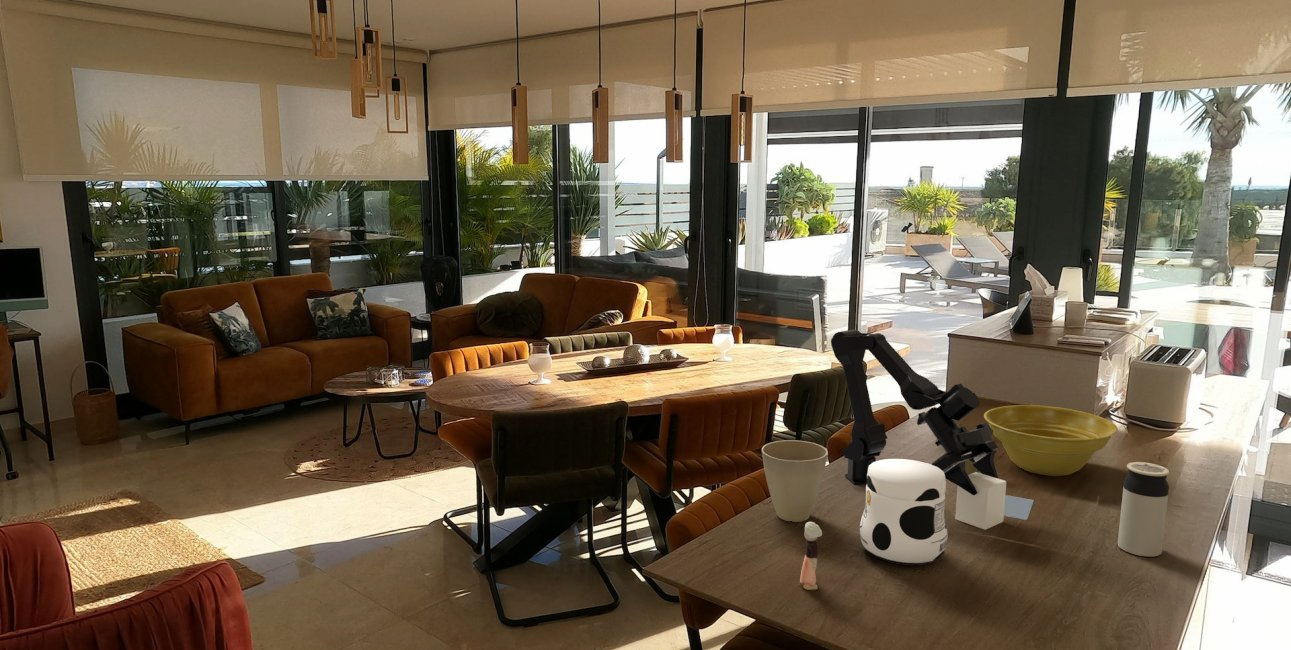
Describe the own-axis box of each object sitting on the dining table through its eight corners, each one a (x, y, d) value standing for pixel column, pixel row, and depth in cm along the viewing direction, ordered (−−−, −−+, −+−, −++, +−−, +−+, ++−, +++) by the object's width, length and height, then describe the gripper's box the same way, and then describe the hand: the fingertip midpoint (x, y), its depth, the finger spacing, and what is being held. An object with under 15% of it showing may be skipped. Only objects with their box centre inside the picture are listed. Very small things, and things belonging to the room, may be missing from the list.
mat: (962, 509, 193) (962, 507, 193) (972, 490, 205) (972, 489, 205) (1026, 521, 186) (1026, 520, 186) (1033, 501, 198) (1034, 500, 198)
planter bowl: (980, 479, 213) (984, 429, 210) (980, 443, 242) (983, 399, 240) (1121, 496, 201) (1127, 444, 199) (1103, 457, 230) (1108, 410, 228)
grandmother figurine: (794, 576, 160) (796, 515, 158) (813, 575, 160) (815, 514, 158) (805, 595, 152) (807, 531, 150) (825, 595, 153) (828, 531, 151)
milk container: (850, 535, 179) (854, 456, 176) (930, 536, 178) (935, 457, 175) (869, 572, 162) (874, 485, 159) (958, 573, 161) (964, 486, 158)
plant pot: (785, 498, 200) (787, 436, 197) (838, 515, 189) (840, 449, 187) (747, 515, 189) (748, 449, 187) (800, 535, 179) (802, 465, 176)
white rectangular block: (955, 520, 187) (957, 478, 185) (973, 512, 191) (976, 472, 189) (985, 531, 181) (988, 488, 179) (1003, 523, 185) (1006, 481, 183)
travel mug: (1161, 561, 166) (1170, 477, 163) (1116, 552, 170) (1124, 469, 167) (1161, 546, 173) (1170, 465, 170) (1118, 538, 177) (1126, 459, 174)
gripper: (946, 419, 179) (989, 482, 173) (993, 406, 190) (1035, 464, 184) (913, 445, 187) (953, 505, 180) (960, 430, 198) (999, 487, 191)
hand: (987, 489), depth 183 cm, fingers open, 9 cm apart
